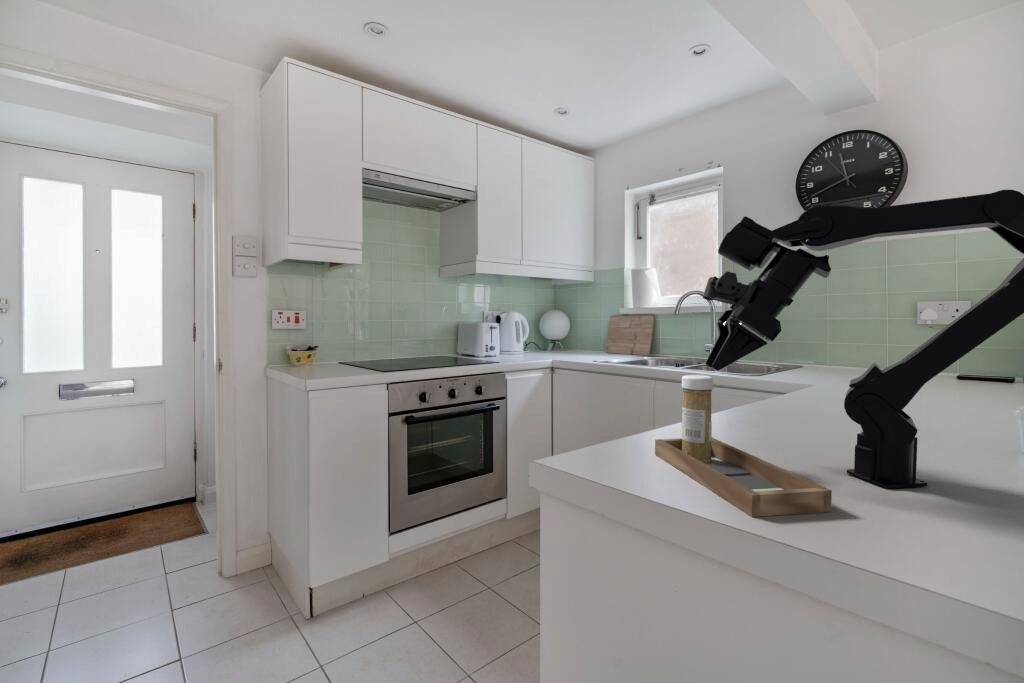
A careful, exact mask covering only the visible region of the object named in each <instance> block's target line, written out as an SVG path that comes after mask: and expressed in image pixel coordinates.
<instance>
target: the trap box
mask: <svg viewBox="0 0 1024 683" xmlns="http://www.w3.org/2000/svg"><path fill="white" fill-rule="evenodd" d="M654 455H655V456H656V457H658V458H659V459H661V460H663V461H664V462H666V463H668V464H669V465H670V466H672V467H674V468H676V469H677V470H678V471H680V472H682V473H683V474H684V475H685V476H687V477H689V478H691V479H693V480H694V481H695V482H697V483H698V484H700V485H701V486H703V487H704V488H706V489H708V490H709V491H711V492H712V493H714V494H715V495H717V496H718V497H720V498H722V499H723V500H725V501H726V502H728V503H730V504H731V505H733V506H734V507H736V508H737V509H739V510H740V511H742V512H743V513H745V514H747V515H748V516H750V517H751V518H755V517H771V516H773V517H774V516H785V515H787V516H788V515H800V514H816V513H829V512H830V513H831V512H832V501H833V500H832V499H833V498H832V497H833V495H832V494H833V490H832V489H830V488H827V487H825V486H823V485H820V484H818V483H815V482H814V481H812V480H809V479H807V478H804V477H803V476H800V475H797V474H795V473H793V472H791V471H788V470H787V469H785V468H783V467H779V466H777V465H775V464H773V463H771V462H768V461H766V460H763V459H761V458H760V457H757V456H756V455H753V454H750V453H748V452H746V451H744V450H741V449H739V448H736V447H734V446H732V445H729V444H728V443H725V442H723V441H720V440H718V439H716V438H714V437H712V438H711V457H712V456H713V457H714V458H716V459H718V460H720V461H722V462H723V463H727V462H730V463H732V464H734V465H736V466H738V467H740V468H742V469H744V470H746V471H748V472H750V475H756V476H758V477H760V478H762V479H764V480H766V481H767V482H769V483H771V484H773V485H775V486H777V487H779V488H781V489H783V490H772V491H753V490H751V489H749V488H747V487H746V486H744V485H742V484H740V483H738V482H737V481H735V480H733V479H731V478H729V477H728V476H726V475H724V474H722V473H721V472H719V471H717V470H715V469H713V468H712V467H710V466H708V465H706V463H705V464H704V463H703V462H701V461H699V460H697V459H695V458H694V457H692V456H690V455H688V454H686V453H685V452H683V451H682V437H681V438H663V439H660V438H659V439H654Z"/></svg>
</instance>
